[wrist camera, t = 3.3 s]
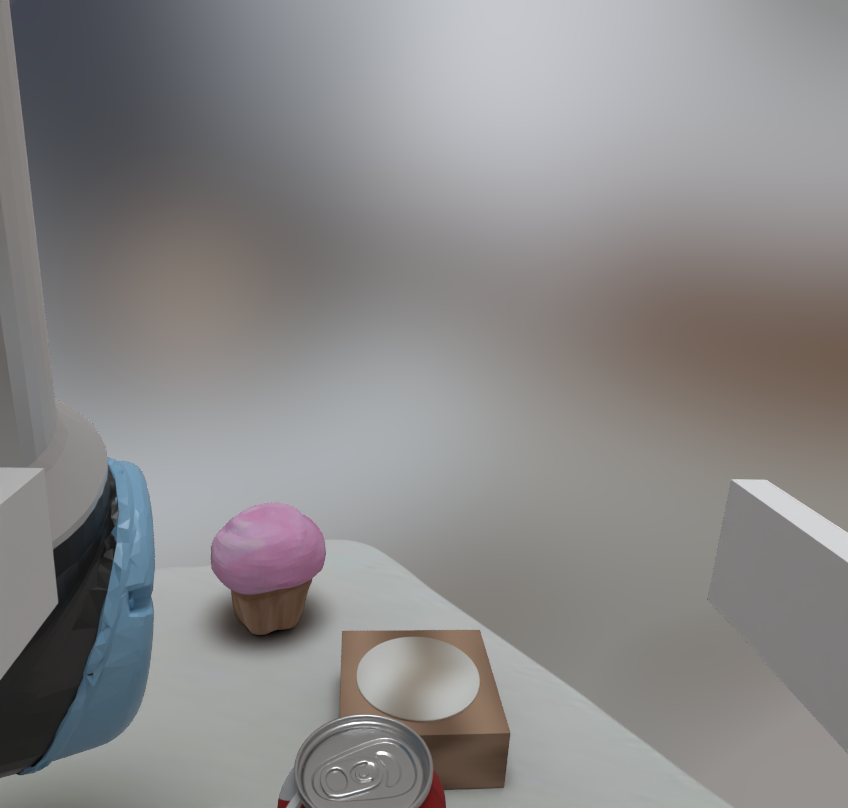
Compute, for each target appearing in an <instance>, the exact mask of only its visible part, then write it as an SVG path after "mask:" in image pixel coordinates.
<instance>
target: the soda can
mask: <svg viewBox="0 0 848 808" xmlns="http://www.w3.org/2000/svg"><path fill="white" fill-rule="evenodd" d="M278 808H446V802H445V795H444V790H443V787H442V784H441V781H440V779H439V777H438V775H437V773H436V772H435V770H434V769H433V762H432V757H431V753H430V751H429V749H428V747H427V745H426V743H425V742H424V740H423V739H422V738H421V737H420V736H419V735H418V734H417V733H416V732H415V731H414V730H413V729H411V728H410V727H409V726H407V725H405V724H404V723H402V722H400V721H397V720H395V719H392V718H389V717H385V716H381V715H373V714H357V715H350V716H345V717H341V718H338V719H335V720H333V721H330V722H328V723H326V724H324V725H323V726H321V727H320V728H318V729H317V730H316V731H314V732H313V733H312V734H311V735H310V736H309V737H308V738H307V739H306V740H305V742H304V743H303V744H302V746H301V748H300V749H299V752H298V754H297V757H296V760H295V764H294V768H293V769H292V770H291V772H290V773H289V775H288V776H287V778H286V780H285V782H284V784H283V786H282V789H281V792H280V795H279V800H278Z"/></svg>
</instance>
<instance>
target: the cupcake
mask: <svg viewBox="0 0 848 808" xmlns="http://www.w3.org/2000/svg"><path fill="white" fill-rule="evenodd" d="M325 556H326V550H325V541H324V538H323V534H322V532H321V531H320V529H319V528H318V526H317V525H316V524H315V523H314V522H313V521H312V520H311V519H310V518H308V517H307V516H305V515H303V514H302V513H301V512H300V511H299V510H298V509H296V508H294V507H292V506H290V505H287V504H283V503H266V504H260V505H255V506H252V507H249V508H247V509H246V510H244V511H242V512H241V513H239V514H238V515H237V516H235V517H234V518H232V519H231V520H230V521H229V522H228V523H227V524H226V525H225V526H224V527H223V528H222V529H221V530H220V531H219V532H218V533H217V534H216V536H215V537H214V540H213V543H212V546H211V566H212V567H211V568H212V570H213V572H214V573H215V575H216V576H217V577H218V579H219V580H220V581H221V582H222V583H223V584H224V585H225V586H226V587H228V588H229V589H231V595H232V603H233V608H234V612H235V615H236V616H237V617H238V619H239V620H240V621H241V622H242V623H243V624H244V625H245V626H247V628H248V629H249V631H250V632H251V633H253V634H256V635H264V634H268V633H270V632H272V631H275V630H281V629H291V628H293V627H294V626H295V625H296V624H297V623H298V621H299V619H300V617H301V614H302V611H303V608H304V604H305V600H306V596H307V592H308V589H309V587H310V584H311V582H312V578H313V577H314V576H315V575H316V574H317V573H318V572H320V571H321V570H322V568H323V565H324V561H325Z"/></svg>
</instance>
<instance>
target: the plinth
mask: <svg viewBox="0 0 848 808" xmlns="http://www.w3.org/2000/svg"><path fill="white" fill-rule="evenodd" d="M357 714H373V715H381V716H385V717H389V718H392V719H395V720H397V721H400V722H402V723H404V724H405V725H407V726H409V727H410V728H411V729H413V730H414V731H415V732H416V733H417V734H418V735H419V736H420V737H421V738H422V739H423V740H424V742H425V743H426V745H427V747H428V749H429V751H430V753H431V757H432V762H433V769H434V770H435V772H436V773H437V775H438V777H439V779H440V781H441V784H442V787H443V789H469V788H498V787H504V782H505V773H506V765H507V757H508V748H509V740H510V730H509V727H508V724H507V720H506V717H505V713H504V710H503V707H502V703H501V700H500V697H499V693H498V690H497V686H496V683H495V680H494V676H493V673H492V670H491V666H490V663H489V659H488V656H487V653H486V649H485V646H484V642H483V639H482V636H481V632H480V630H414V631H342V654H341V686H340V718H341V717H345V716H350V715H357Z"/></svg>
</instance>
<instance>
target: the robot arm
mask: <svg viewBox="0 0 848 808" xmlns="http://www.w3.org/2000/svg"><path fill="white" fill-rule="evenodd" d="M154 570H155V550H154V532H153V520H152V510H151V503H150V497H149V493H148V489H147V483H146V480H145V477H144V475H143V473H142V471H141V470H140V468H139V467H138V466H136V465H135V464H133V463H130V462H126V461H117V460H115V459H112V458H109V457H107V452H106V447H105V444H104V442H103V440H102V438H101V436H100V434H99V433H98V431H97V429H96V428H95V426H94V425H93V424H92V423H91V422H90V421H89V420H88V419H87V418H86V417H85V416H84V415H82V414H81V413H80V412H78V411H77V410H75V409H74V408H72V407H71V406H69V405H67V404H65V403H63V402H61V401H59V400H57V399H55V396H54V387H53V379H52V370H51V361H50V352H49V344H48V335H47V326H46V318H45V310H44V300H43V292H42V284H41V274H40V265H39V257H38V249H37V240H36V231H35V222H34V214H33V205H32V196H31V187H30V180H29V171H28V161H27V154H26V144H25V135H24V127H23V118H22V109H21V101H20V92H19V83H18V76H17V67H16V58H15V50H14V40H13V32H12V23H11V15H10V5H9V0H0V778H2V777H6V776H10V775H13V774H18V775H24V774H30V773H35V772H36V771H39V770H41V769H43V768H44V767H46V766H48V765H49V764H50V763H51V762H52V761H55V760H58V759H62V758H65V757H68V756H71V755H74V754H77V753H80V752H83V751H86V750H89V749H92V748H96V747H98V746H101V745H104V744H106V743H108V742H110V741H112V740H113V739H115V738H116V737H117V736H119V735H120V734H121V733H122V732H123V731H124V730H125V729H126V728H127V727H128V726H129V725H130V723H131V722H132V720H133V719H134V717H135V716H136V714H137V712H138V710H139V708H140V705H141V702H142V699H143V696H144V693H145V689H146V684H147V679H148V673H149V667H150V659H151V650H152V640H153V622H154V609H153V602H152V598H151V594H152V591H153V581H154ZM707 600H708V601H709V602H710V603H711V604H712V605H713V606H714V607H715V609H716V610H717V611H718V612H719V613H720V614H721V615H722V616H723V617H724V618H725V619H726V621H727V622H728V623H729V624H730V625H731V626H732V627H733V628H734V629H735V630H736V631H737V633H738V634H739V635H740V636H741V637H742V638H743V639H744V640H745V641H746V643H747V644H748V645H749V646H750V647H751V648H752V649H753V650H754V651H755V652H756V654H757V655H758V656H760V658H761V659H762V660H763V661H764V662H765V663H766V665H767V666H768V667H769V668H770V669H771V670H772V671H773V672H774V673H775V674H776V675H777V677H778V678H779V679H780V680H781V681H782V682H783V683H784V684H785V685H786V686H787V687H788V689H789V690H790V691H791V692H792V693H793V694H794V695H795V696H796V697H797V699H798V700H799V701H800V702H801V703H802V704H803V705H804V706H805V707H806V708H807V709H808V711H809V712H810V713H811V714H812V715H813V716H814V717H815V718H816V719H817V721H818V722H819V723H820V724H821V725H822V726H823V727H824V728H825V729H826V730H827V731H828V732H829V734H830V735H831V736H832V737H833V738H834V739H835V740H836V741H837V742H838V744H839V745H840V746H841V747H842V748H843V749H844V750H845V751H846V752H847V753H848V533H847V532H846V531H844V530H842V529H841V528H839V527H838V526H836V525H834V524H833V523H832V522H830V521H829V520H827V519H826V518H824V517H822V516H821V515H819V514H818V513H816V512H815V511H813V510H812V509H810V508H809V507H807V506H806V505H804V504H803V503H801V502H799V501H798V500H796V499H795V498H793V497H792V496H790V495H789V494H787V493H786V492H784V491H783V490H781V489H780V488H778V487H776V486H775V485H773V484H772V483H770V482H769V481H767V480H737V479H734V480H733V479H731V482H730V487H729V492H728V497H727V502H726V507H725V512H724V517H723V522H722V528H721V533H720V538H719V543H718V548H717V554H716V558H715V563H714V568H713V573H712V578H711V583H710V588H709V594H708V598H707Z"/></svg>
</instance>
